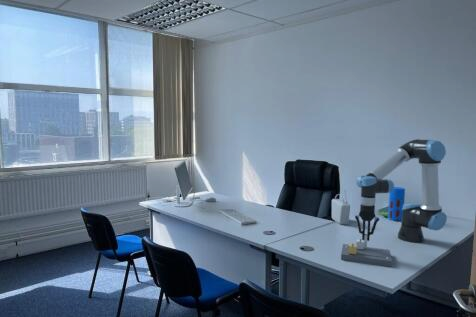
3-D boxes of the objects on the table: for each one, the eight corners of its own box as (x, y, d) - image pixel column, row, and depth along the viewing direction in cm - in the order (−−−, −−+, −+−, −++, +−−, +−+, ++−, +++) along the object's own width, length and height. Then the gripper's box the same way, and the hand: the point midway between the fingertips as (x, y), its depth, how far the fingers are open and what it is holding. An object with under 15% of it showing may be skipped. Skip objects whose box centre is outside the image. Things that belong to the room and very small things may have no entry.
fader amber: (356, 251, 190) (356, 244, 190) (356, 254, 186) (356, 246, 185) (348, 250, 192) (348, 243, 191) (348, 253, 187) (348, 245, 187)
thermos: (404, 221, 269) (406, 189, 266) (389, 220, 271) (391, 188, 268) (401, 218, 279) (402, 187, 277) (386, 217, 281) (388, 186, 279)
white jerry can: (351, 225, 254) (353, 191, 252) (340, 225, 254) (342, 191, 251) (340, 218, 276) (342, 186, 274) (330, 218, 275) (331, 186, 273)
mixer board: (389, 255, 196) (389, 249, 195) (391, 266, 179) (392, 261, 179) (342, 249, 204) (343, 243, 204) (340, 259, 187) (341, 254, 187)
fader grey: (363, 246, 199) (364, 239, 198) (363, 249, 194) (364, 242, 193) (356, 245, 200) (356, 238, 200) (356, 248, 195) (356, 241, 195)
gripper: (379, 204, 195) (377, 245, 197) (355, 202, 199) (353, 242, 201) (380, 206, 188) (378, 249, 190) (355, 204, 192) (352, 246, 194)
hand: (365, 245), depth 196 cm, fingers closed
